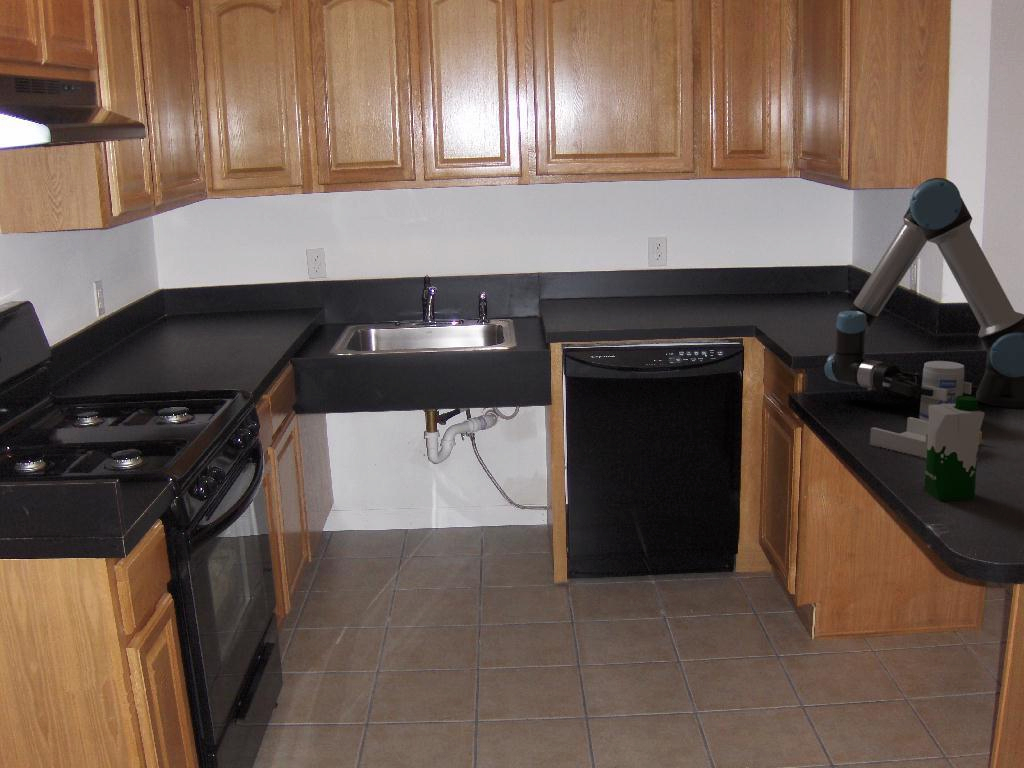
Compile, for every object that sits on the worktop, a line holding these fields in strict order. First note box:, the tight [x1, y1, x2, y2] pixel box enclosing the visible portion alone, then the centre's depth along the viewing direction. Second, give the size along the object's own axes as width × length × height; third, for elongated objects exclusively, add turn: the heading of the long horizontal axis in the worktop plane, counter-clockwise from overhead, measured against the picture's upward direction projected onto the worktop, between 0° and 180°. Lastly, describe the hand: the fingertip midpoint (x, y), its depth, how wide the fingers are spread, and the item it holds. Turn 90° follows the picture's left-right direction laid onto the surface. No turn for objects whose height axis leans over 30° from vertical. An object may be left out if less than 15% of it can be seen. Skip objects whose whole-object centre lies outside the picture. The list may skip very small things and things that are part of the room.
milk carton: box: [923, 395, 985, 502], centre depth 207 cm, size 9×9×20 cm
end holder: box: [869, 416, 929, 458], centre depth 240 cm, size 15×15×6 cm
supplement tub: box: [919, 360, 966, 421], centre depth 258 cm, size 10×10×15 cm
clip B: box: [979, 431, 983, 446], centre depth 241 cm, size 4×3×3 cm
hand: (958, 392), depth 254 cm, fingers closed on supplement tub, 9 cm apart
